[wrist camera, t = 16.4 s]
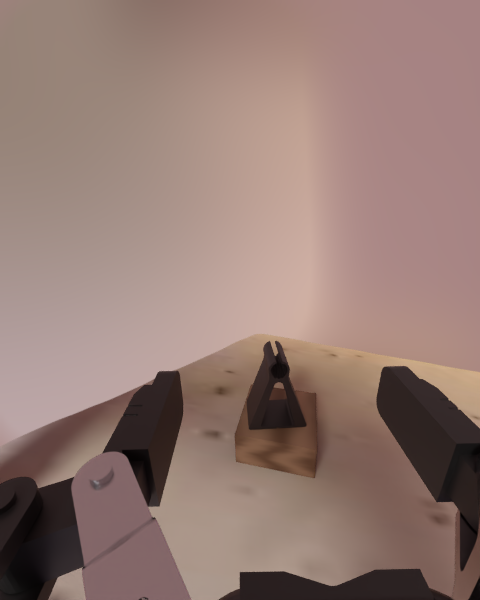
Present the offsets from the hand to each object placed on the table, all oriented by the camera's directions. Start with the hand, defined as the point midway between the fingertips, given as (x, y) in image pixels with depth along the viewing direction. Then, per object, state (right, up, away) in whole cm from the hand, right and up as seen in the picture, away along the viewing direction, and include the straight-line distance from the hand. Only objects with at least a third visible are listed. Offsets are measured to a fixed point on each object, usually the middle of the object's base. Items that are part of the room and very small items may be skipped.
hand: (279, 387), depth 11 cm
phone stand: (+4, -16, +34) cm, 37 cm away
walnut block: (+5, -21, +36) cm, 42 cm away
